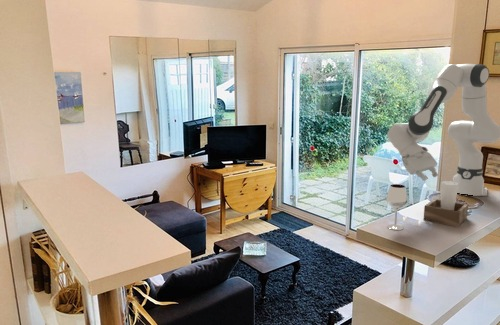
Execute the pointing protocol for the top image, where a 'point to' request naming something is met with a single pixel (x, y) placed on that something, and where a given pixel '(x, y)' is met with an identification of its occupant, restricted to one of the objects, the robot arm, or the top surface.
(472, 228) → the top surface
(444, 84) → the robot arm
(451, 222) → the walnut crate
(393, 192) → the wineglass
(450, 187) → the white rectangular block
